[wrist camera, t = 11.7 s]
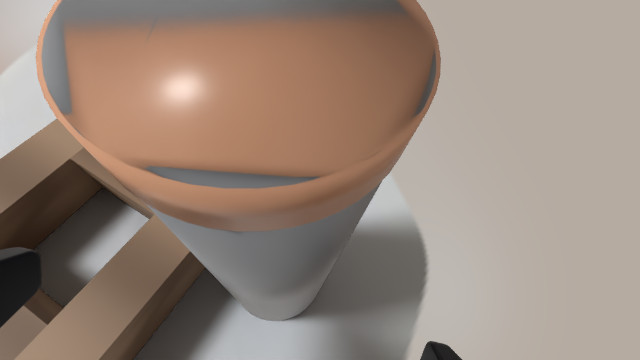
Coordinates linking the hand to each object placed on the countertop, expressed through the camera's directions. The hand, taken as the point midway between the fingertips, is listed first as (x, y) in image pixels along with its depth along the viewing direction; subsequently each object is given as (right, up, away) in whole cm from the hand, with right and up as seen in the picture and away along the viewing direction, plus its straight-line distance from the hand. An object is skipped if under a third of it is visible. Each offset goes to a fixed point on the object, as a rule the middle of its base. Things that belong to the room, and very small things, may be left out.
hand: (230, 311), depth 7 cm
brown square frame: (-9, -1, +9) cm, 13 cm away
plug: (0, -2, +9) cm, 9 cm away
